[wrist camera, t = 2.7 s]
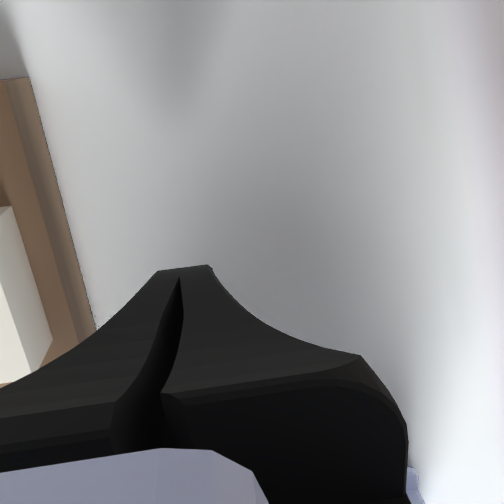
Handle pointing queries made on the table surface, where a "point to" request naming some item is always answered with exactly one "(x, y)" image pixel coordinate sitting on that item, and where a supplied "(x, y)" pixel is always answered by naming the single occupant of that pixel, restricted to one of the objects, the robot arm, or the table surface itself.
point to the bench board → (41, 218)
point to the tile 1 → (19, 307)
